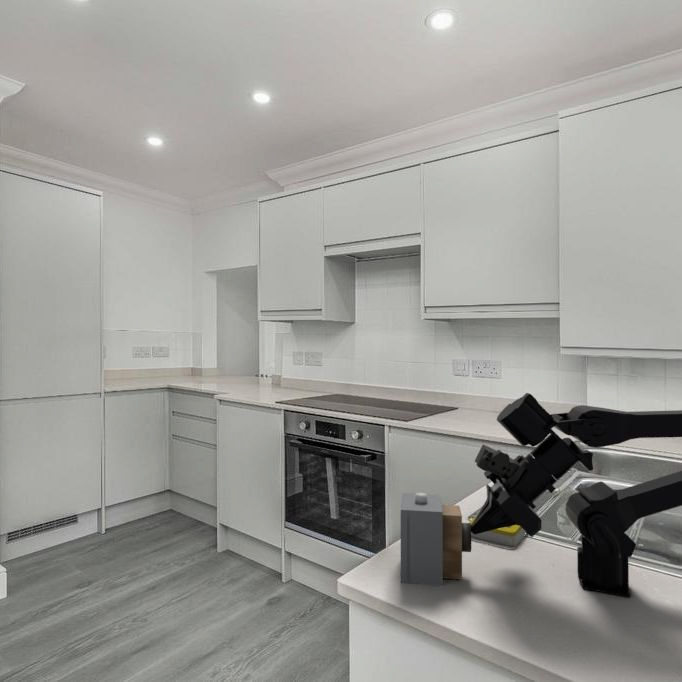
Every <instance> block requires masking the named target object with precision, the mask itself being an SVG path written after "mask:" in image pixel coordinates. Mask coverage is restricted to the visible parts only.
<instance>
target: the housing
mask: <svg viewBox="0 0 682 682" xmlns="http://www.w3.org/2000/svg"><path fill="white" fill-rule="evenodd" d="M401 493H402V495H401V501H400V583H405V584H418V585H430V586H431V585H432V586H433V585H434V586H443V585H444V584H443V583H444V581H443V580H444V578H443V512H442V505H443V504H442V500H441V494H433V493H432V494H430V493H424V492H416V493H409V492H401Z"/></svg>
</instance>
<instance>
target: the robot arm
mask: <svg viewBox="0 0 682 682" xmlns="http://www.w3.org/2000/svg"><path fill="white" fill-rule="evenodd" d="M496 421H497V422H498V423H499V425H500V426H501V427H502V428H504V430H506V431H507V432H508V434H510V435H511V436H512V437H513V438H514V439H515V441H517V442H518V443H519V444H520V446H522V447H524V446H528V445H529V446H530V447H535V448H534V449H532V450H531V451H530V452H529V453H528V454H527V455H526V456H525V455H523V454H521V455H520V454H519V455H517V456H516V457H515V458H514V459H513V458H511V457H510V455H509V454H508V453H505V452H502V451H501V450H500V449H498V450H497V449H494V448H492V447H490V446H488V445H485V444H482V445H481V447H480V450H479V452H478V454H477V455H476V457H475V459H474V462H475V463H476V466H477V467H478V468H479V469H480V470H481V471H482V470H483V475H484V476H485V478H486V479H487V480H490V481H491V482H492V483H493V484H492V485H491V486H490V485H489V483H487V484H486V485H485V488H486V500H485V501H484V503H483V505H482V507H480V508H481V509H480V510H479V512H478V513H477V514H476V516H475V517H476V518H475V520H474V521H473V523H472V525H471V526H470V527H471V532H472V533H473V534H479V533H483V532H487V531H490V530H494V529H498V528H503V527H508V526H513V525H517V526H519V525H520V526H521V527H522V528H523V529H524V530H525V531H526V533H527V534H526V535H528V536H529V537H531V538H533V537H534V536H535V535H537V534H538V533H539V532H540V531H541V530H542V519H541V518H540V516H539V515H538V513H537V511H536V510H535V508H537V506H536V504H535V502H536V501H537V500H538V499H539V498H540V497H541V496H542V495H544V494H545V493H546V492H547V491H548V492H549V493H550V494H552V493H553V492H555V491H556V489H557V488H555V486H554V485H555V484H556V483H557V482H558V481H559V480H561V478H563V477H564V476H565V475H566V474H567V473H568V472H569V471H571V470H572V469H573V468H574V467H575V466H576V465H577V464H578V463H579V464H580V465H581V466H582V467H583V468H585V469H587V470H588V471H590V472H592V471H593V470H594V466H593V464H594V463H593V456H594V453H593V452H592V451H590V450H588V449H582V448H581V447H580V446H579V445H577V444H576V443H575V442H574V440H572V439H571V438H570V437H564V438H561V436H559V435H558V434H557V433H556V432H555V431H554V430H553V428H554V429H556V430H557V431H560V432H561V433H563V434H565V435H566V436H571V437H572V438H574V439H575V440H577V441H579V442H581V443H582V444H584V445H585V446H587V447H591V448H604V447H608V446H614V445H620V444H623V443H625V442H628V441H630V440H631V441H632V440H636V439H652V438H654V439H655V438H682V409H681V410H679V409H678V410H645V411H625V410H618V409H611V408H606V407H600V406H591V405H584V404H582V405H576V406H574V407H572V408H571V409H570V410H569V411H568V412H559V413H552V414H550V413H549V412H548V411H547V410H546V409H545V408H544V407H543V406H542V405H541V404H540V403H539V401H538V400H537V399H536V397H534V395H532V394H531V393H529V392H525V394H523V396H521V397H519V398H517V399H516V400H514V401H513V402H512V403H508V404H507V406H505V407H504V408H503V409H502V410H501V411H500V413H498V415H497V417H496ZM576 490H577V492H575V493H573V494H571V495H570V496H568V498H567V501H566V503H565V513H566V516H567V518H568V520H569V521H570V522H571V524H573V526H574V527H575V528H576V529H577V530H578V532H579V534H581V535H582V536H583V537H581V538H580V539H581V541H580V542H581V546H578V547H577V548H576V549H577V550H576V551H577V554H576V555H577V557H576V558H577V563H576V564H577V578H578V579H579V580H581V587H582V589H584V590H589V591H594V592H600V593H604V594H605V593H606V594H612V595H617V596H621V597H628V598H630V597H632V592H631V589H630V586H629V581H630V580H629V577H630V576H629V575H630V574H629V568H630V566H629V565H630V564H629V558H631V557H632V556H633V554H634V551H635V549H636V546H637V545H636V542H635V541H634V540H633V539H632V538H631V537H630V536H628V534H626V532H627V531H628V530H629V529H630V528H631V527H632V526H633V525H635V523H636V522H638V520H640V519H643V518H645V517H648V516H649V517H650V516H652V515H656V514H659V513H663V512H666V511H669V510H671V509H675V508H679V507H682V470H679V471H676V472H673V473H670V474H666V475H664V476H659V477H657V478H654V479H651V480H648V481H645V482H641V483H639V484H635V485H632V486H629V487H626V488H620V489H613V488H612V487H611V486H609V485H608V484H607V483H605V482H604V481H599V482H598V481H597V482H595V483H593V484H591V485H590V486H587V487H577V488H576Z"/></svg>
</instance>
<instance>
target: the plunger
mask: <svg viewBox="0 0 682 682" xmlns="http://www.w3.org/2000/svg"><path fill="white" fill-rule="evenodd" d="M441 505H442V512H443V579H454V580H455V579H456V580H463V552H464V553H471V552H472V541H471V527H470V523H469V522H463V518H462V517H463V515H462V511H461V508H460V507H461V506H460V505H456V504H454V505H453V504H451V505H450V504H441Z"/></svg>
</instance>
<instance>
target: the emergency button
mask: <svg viewBox="0 0 682 682" xmlns="http://www.w3.org/2000/svg"><path fill="white" fill-rule="evenodd" d="M475 518H476V516H474V517H473V518H472V519H471V520H469V522H468V523H470V526H471V525H472V523H473V521H474V520H475ZM525 533H526V531H525V530H524V529H523V528H522V527H521V526H520V525H519V526H517V525H513V526H508V527H503V528H498V529H494V530H490V531H487V532H483V533H479V534H473V533H472V532H471V542H474V541H476V542H475V543H478V542H480V543H479V544H482V543H483V544H482V545H486V544H488V545H487V546H490V545H492V546H491V547H495V548H499V549H503V550H506V551H507V550H508V551H513V550H515V549H516V548H517V547H518V545H519V544H520V543H521V542H522V540H523V539H524V538H525V537H524V535H525ZM525 536H526V535H525ZM523 537H524V538H523Z"/></svg>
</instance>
